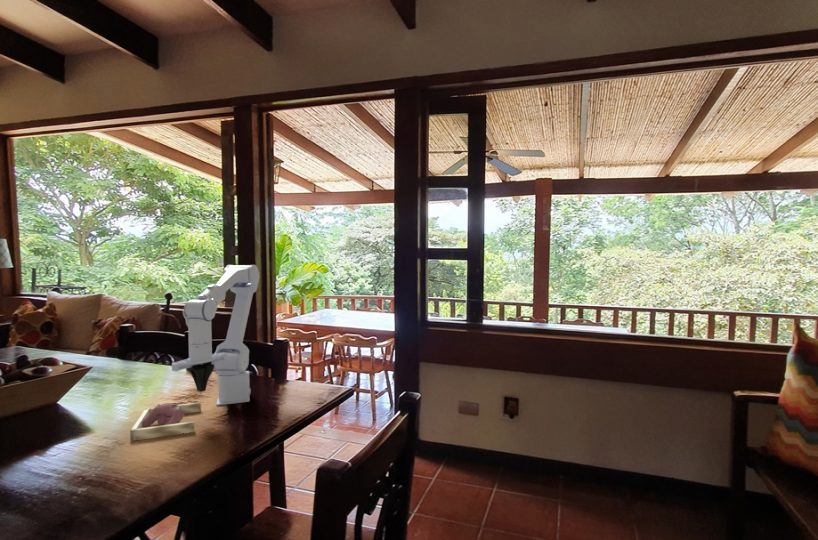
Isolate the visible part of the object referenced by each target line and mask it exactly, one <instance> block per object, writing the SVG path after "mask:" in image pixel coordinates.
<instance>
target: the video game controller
mask: <svg viewBox="0 0 818 540" xmlns="http://www.w3.org/2000/svg"><path fill="white" fill-rule="evenodd" d="M178 405H179V404H175V403H170V402H169V403H167V402H166V403H161V404H159V403H158V404H157V406H155V408H154V407H153V408H154V409H153V410H152V412H151V413H150V414H149V415H148V416H147V417H146V419H145V420H144V422H143V428H147V427H151V426H152V425H153V424H154V423H155V422H156V421H157V425H158V426H162V425H169V424H177V423H181V421H182V420H183V418H184V417H185V414H186V413H185V411H184V409H183V408H181V407H180V406H178ZM167 415H169V416H167Z"/></svg>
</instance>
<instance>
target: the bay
mask: <svg viewBox="0 0 818 540" xmlns="http://www.w3.org/2000/svg"><path fill="white" fill-rule="evenodd" d="M177 405H178V406H180V407H181V408H183V409H184V411H185V414H192V413H200V412H201V411H202V406H201V405H202V403H201V401H199V402H190V403H181V404H177ZM155 407H156V406H155ZM155 407H146V408H145V409H144V410H143V412H142V413H141V415H140V416H139V417H138V419H137V420H136V422H135V423H134V424H133V426H132V428H131V429H130V431H129V433H130V435H129V439H130V442H132V441H139V440H140V441H141V440H146V439H147V440H148V439H156V438H162V437H169V436H175V435H177V436H178V435H182V434H183V433H184V434H189V433H190V432H191V433H195V421H193V420H191V421H186V422H179V423H177V424H169V425H166V424H165V425H155V426H149V427H147V428H144V427H143V422H144V420H145V419H146V417H147V416H148V415H149V414H150V413H151V412H152V410H153V409H154V408H155ZM167 417H170V415H167ZM191 433H190V434H191Z"/></svg>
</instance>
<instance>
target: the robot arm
mask: <svg viewBox="0 0 818 540" xmlns="http://www.w3.org/2000/svg"><path fill="white" fill-rule="evenodd" d="M259 283H260V271H259V268H258V266H257V265H256V264H250V265H249V264H247V265H246V264H242V265H241V264H238V265H237V264H236V265H234V264H227V265H226V266H225V267H223V274H222V276H221V277H220V279H219V280H218V281H217V282H216V283H215V284H209V285H207V286H206V288H205V289H204V290H203V291H202V292H201V293H200V294H199V295H198V296H197V297H196V298H195V299H190V300H188V301H186V303H185V305H184V306H183V310H182V316H183V318H184V319H185V325H186V327H187V329H188V333H187V334H188V358H186V359H182V360H179V361H175V362H172V363H171V371H173V372H179V371H181V370H185V369H187V371H188V372H189V373H190V376H191V377H192V379H193V381H194V383H195V386H196V391H197V392H200V393H203V392H206V390H207V386H208V382H209V378H210V377H211V373H212V372H213V371H215V374H216V375H217V376H218V377H217V379H218V380H217V382H218V384H217V385H218V386H217V387H218V390H217V391H218V394H217V395H218V396H217V400H216V406H224V405H231V404H240V403H241V404H242V403H246V402H247V403H248V402H250V400H251V399H250V395H251V390H252V389H251V387H250V371H249V370H247V369H248V366H249V361H250V358H249V357H250V349H249V348H248V346H247V345H246V344H245V343H243V342H244V337H245V332H246V328H247V323H248V318H249V315H250V309H251V304H252V300H253V295H254V293H256V292H257V290H258V285H259ZM228 290H230V292H232V293H234V294H235V300H234V304H233V307H232V311H231V316H230V320H229V325H228V329H227V332H226V333H227V334H226V337H225V340H224V341H223V342H221V343H220V344H218V345H217V346H216V350H215V352H214V353H213V347H212V345H213V341H212V340H213V339H212V334H213V333H212V320H213V319H214V318H215V316H216V312H217V310H218V307H219V305H220V304H221V303H222V302H223V301H224V300H225V298H226V296H227V294H226V293H227V292H228Z"/></svg>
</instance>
